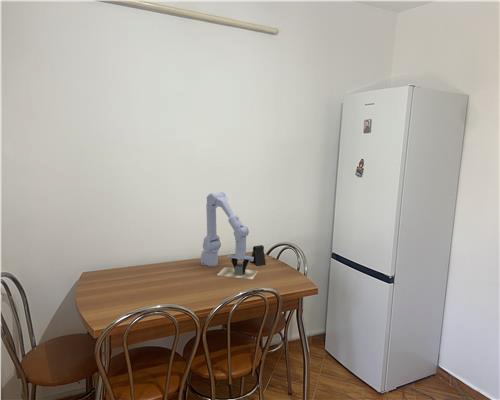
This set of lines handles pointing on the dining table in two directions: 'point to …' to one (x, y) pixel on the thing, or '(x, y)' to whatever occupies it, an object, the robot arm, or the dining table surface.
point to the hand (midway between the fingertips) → (239, 272)
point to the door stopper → (258, 255)
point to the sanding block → (239, 269)
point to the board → (231, 273)
